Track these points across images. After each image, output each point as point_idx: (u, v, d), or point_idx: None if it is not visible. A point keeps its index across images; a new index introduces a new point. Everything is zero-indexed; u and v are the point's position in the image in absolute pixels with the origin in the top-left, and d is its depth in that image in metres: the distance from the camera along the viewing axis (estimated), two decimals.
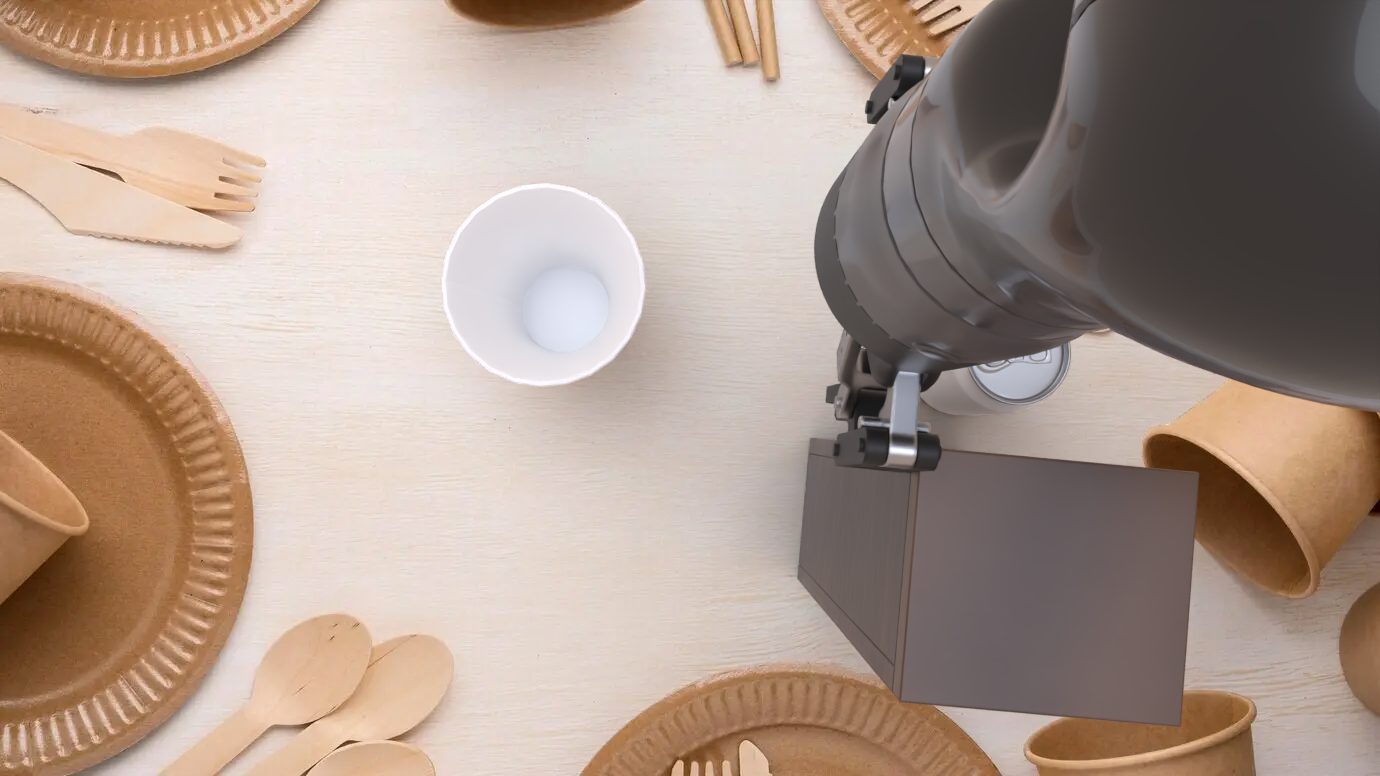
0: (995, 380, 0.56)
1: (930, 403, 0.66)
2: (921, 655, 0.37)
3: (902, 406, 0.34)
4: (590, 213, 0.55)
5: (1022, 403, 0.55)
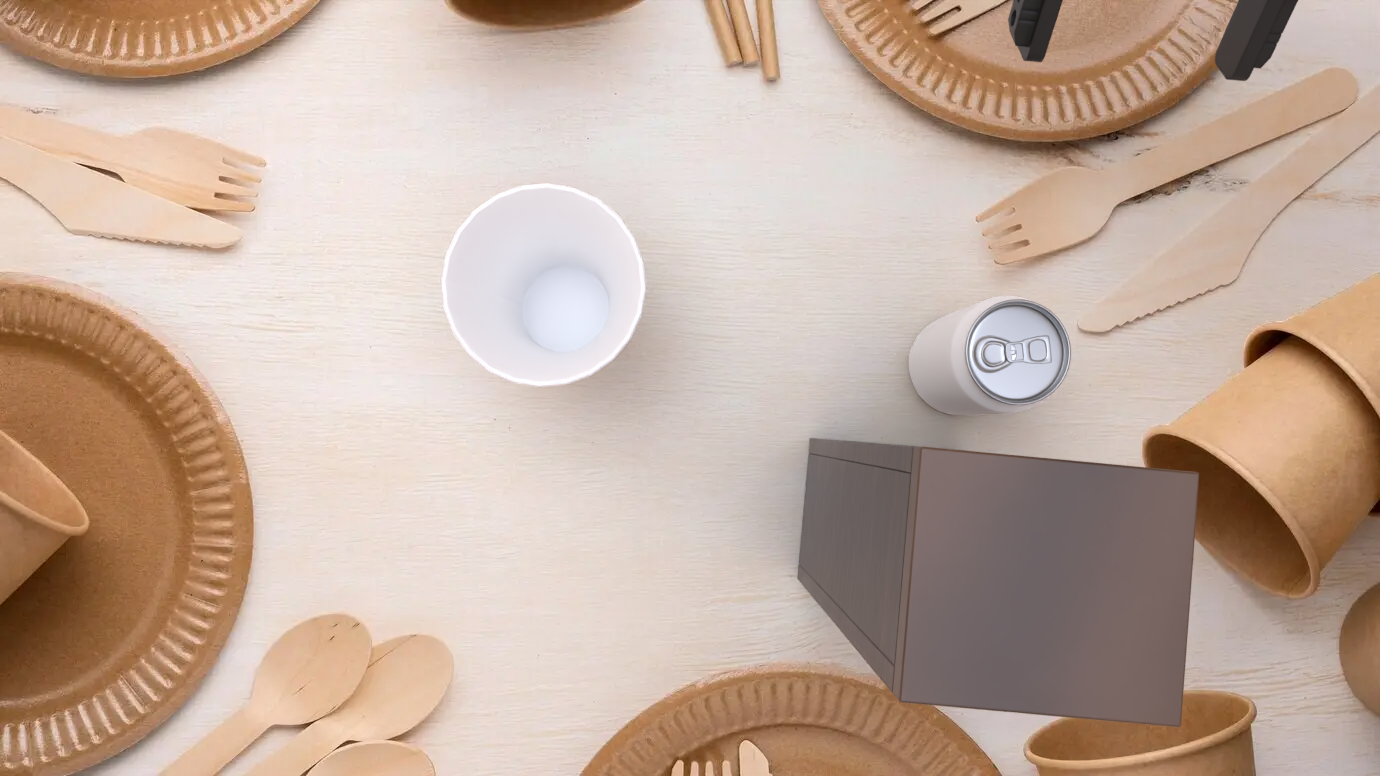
0: (995, 380, 0.56)
1: (930, 403, 0.66)
2: (921, 655, 0.37)
3: None
4: (590, 213, 0.55)
5: (1022, 403, 0.55)
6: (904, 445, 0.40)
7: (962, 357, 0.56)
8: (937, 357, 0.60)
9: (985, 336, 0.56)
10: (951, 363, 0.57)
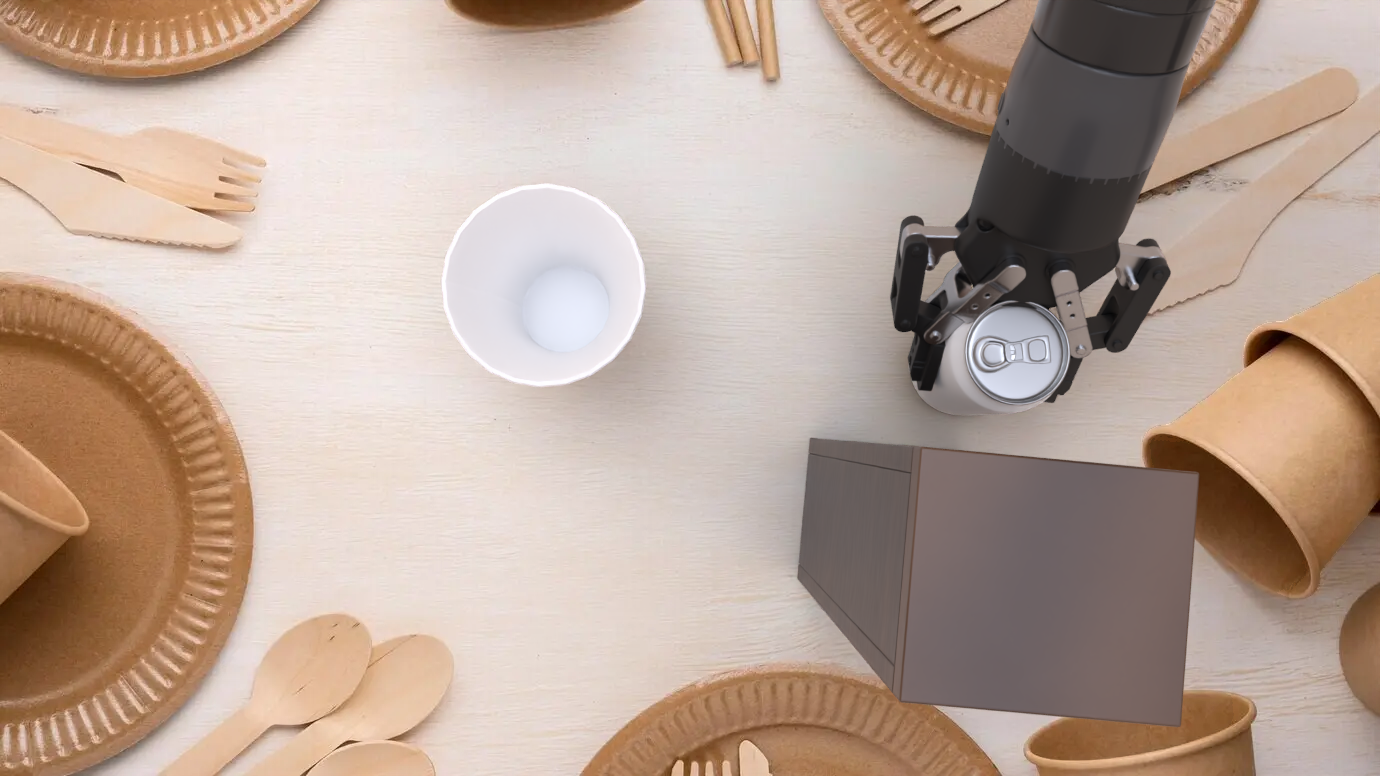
0: (994, 380, 0.56)
1: (930, 403, 0.66)
2: (921, 655, 0.37)
3: (942, 230, 0.54)
4: (590, 213, 0.55)
5: (1021, 403, 0.55)
6: (904, 445, 0.40)
7: (962, 357, 0.56)
8: None
9: (984, 336, 0.56)
10: (951, 363, 0.57)
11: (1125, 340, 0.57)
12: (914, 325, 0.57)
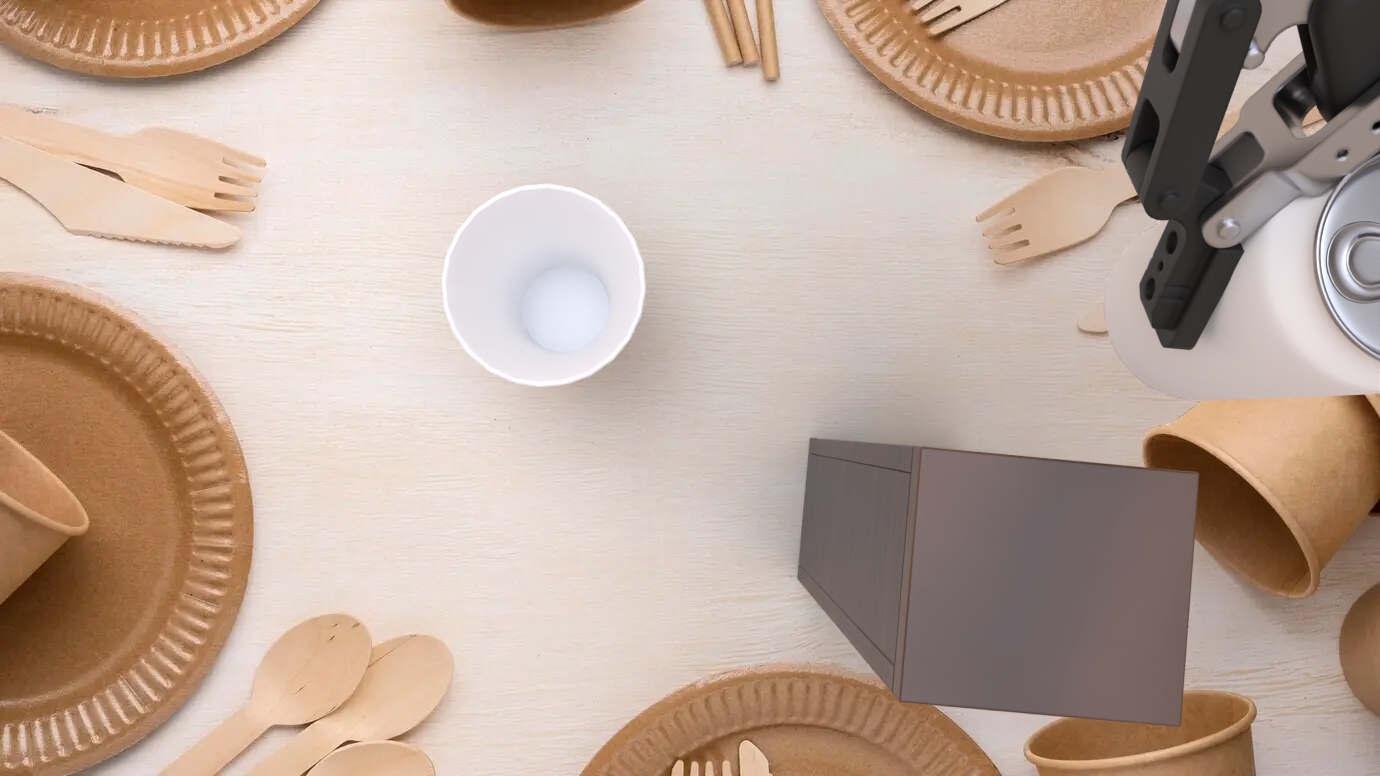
0: (1376, 319, 0.25)
1: (1149, 378, 0.36)
2: (921, 655, 0.37)
3: None
4: (590, 213, 0.55)
5: None
6: (904, 445, 0.40)
7: (1300, 269, 0.26)
8: None
9: (1354, 222, 0.25)
10: (1267, 284, 0.27)
11: None
12: (1188, 204, 0.27)
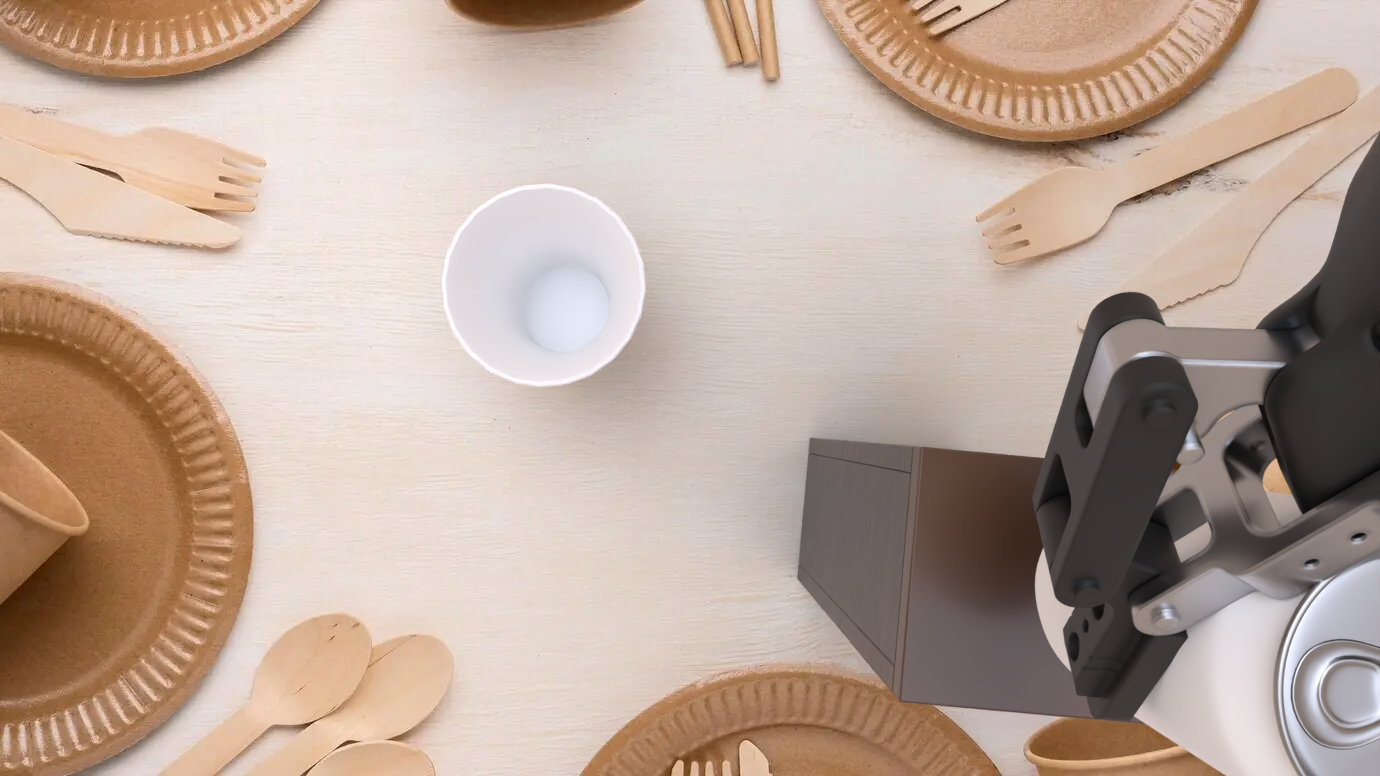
0: (1357, 770, 0.19)
1: None
2: (921, 655, 0.37)
3: (1229, 341, 0.18)
4: (590, 213, 0.55)
5: None
6: (904, 445, 0.40)
7: (1257, 696, 0.19)
8: None
9: (1328, 641, 0.19)
10: (1215, 698, 0.20)
11: None
12: (1112, 593, 0.20)
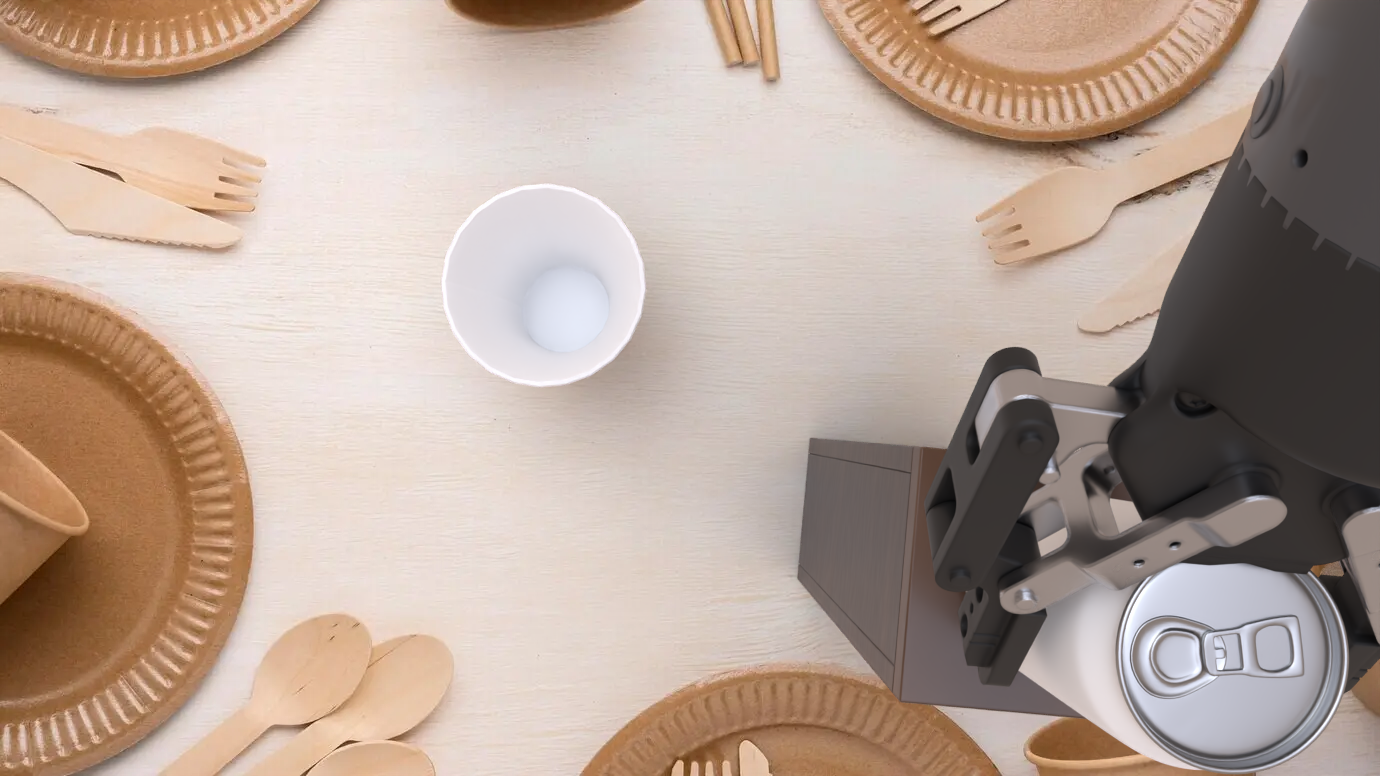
0: (1180, 714, 0.25)
1: None
2: (921, 655, 0.37)
3: (1087, 393, 0.23)
4: (590, 213, 0.55)
5: (1243, 770, 0.25)
6: (904, 445, 0.40)
7: (1106, 659, 0.26)
8: None
9: (1157, 617, 0.25)
10: (1078, 662, 0.27)
11: None
12: (980, 579, 0.26)
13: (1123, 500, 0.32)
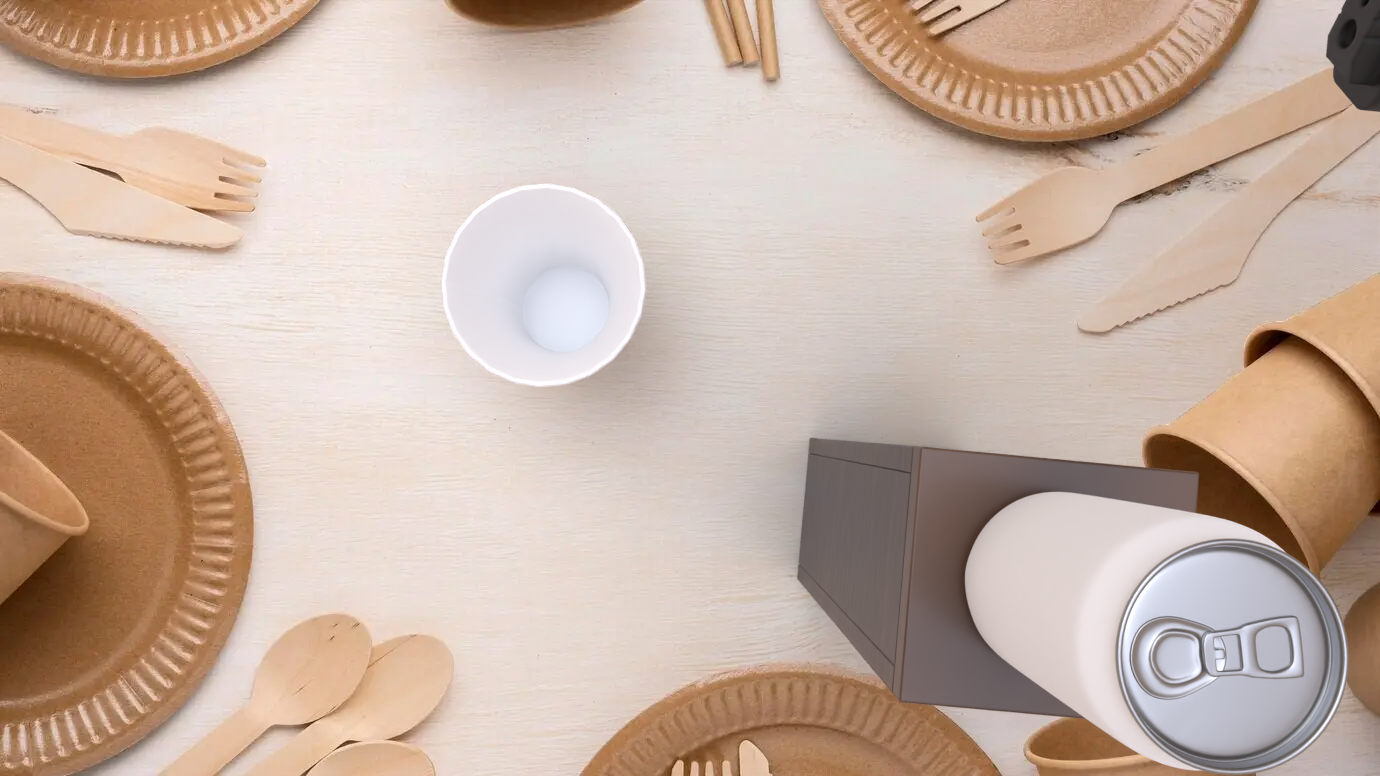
0: (1180, 715, 0.25)
1: None
2: (921, 655, 0.37)
3: None
4: (590, 213, 0.55)
5: (1242, 771, 0.25)
6: (904, 445, 0.40)
7: (1106, 660, 0.26)
8: (1038, 625, 0.29)
9: (1158, 618, 0.25)
10: (1078, 663, 0.27)
11: None
12: None
13: None
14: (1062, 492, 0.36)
